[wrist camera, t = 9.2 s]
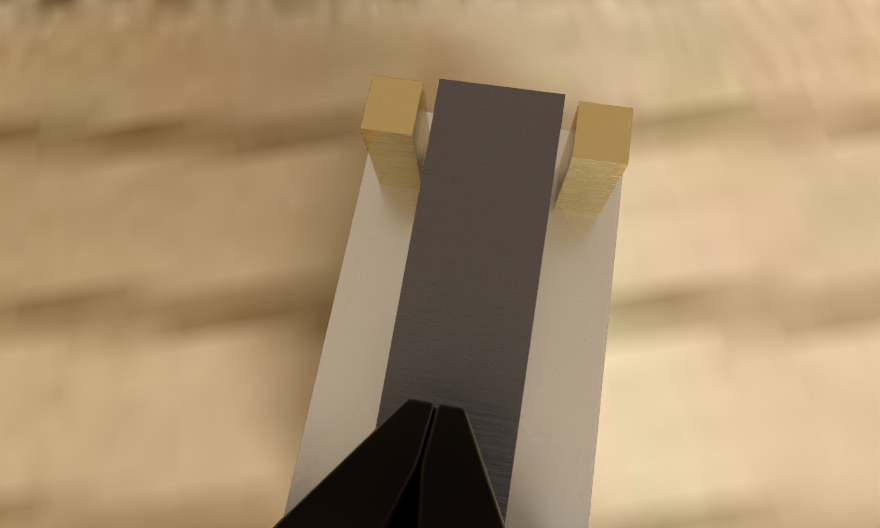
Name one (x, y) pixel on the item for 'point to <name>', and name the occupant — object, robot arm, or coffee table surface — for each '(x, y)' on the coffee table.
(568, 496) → the white box with posts
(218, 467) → the coffee table surface
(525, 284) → the block
